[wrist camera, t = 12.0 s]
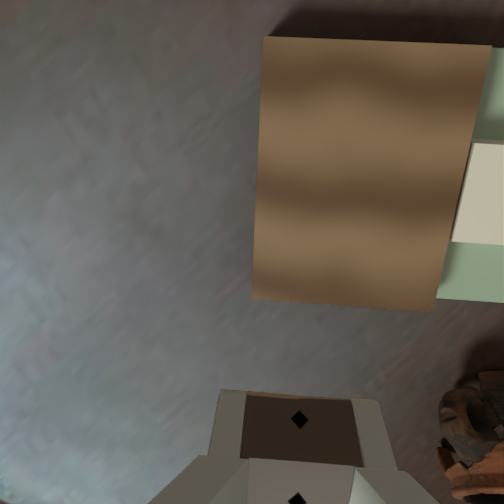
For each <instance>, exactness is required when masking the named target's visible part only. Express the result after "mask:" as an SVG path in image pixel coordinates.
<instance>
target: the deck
mask: <svg viewBox="0 0 504 504" xmlns="http://www.w3.org/2000/svg"><path fill="white" fill-rule="evenodd" d="M491 49H492V45H468V44H443V43H419V42H394V41H370V40H345V39H321V38H297V37H272V36H263V57H262V79H261V100H260V122H259V144H258V166H257V188H256V209H255V231H254V253H253V275H252V297H251V299H263V300H276V301H290V302H303V303H317V304H330V305H344V306H357V307H371V308H384V309H398V310H412V311H425V312H433V309H434V305H435V300H436V296H437V291H438V287H439V282H440V278H441V273H442V269H443V264H444V260H445V255H446V251H447V246H448V242H449V237H450V233H451V228H452V224H453V219H454V215H455V210H456V206H457V201H458V197H459V192H460V188H461V183H462V179H463V174H464V170H465V166H466V161H467V157H468V152H469V148H470V143H471V139H472V134H473V130H474V125H475V121H476V116H477V112H478V107H479V103H480V98H481V94H482V89H483V85H484V80H485V76H486V71H487V67H488V62H489V58H490V53H491Z"/></svg>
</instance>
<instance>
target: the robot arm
mask: <svg viewBox="0 0 504 504" xmlns="http://www.w3.org/2000/svg"><path fill="white" fill-rule="evenodd" d="M148 504H439V503H438V502H437V501H436V500H435V499H434V498H433V497H432V496H431V495H430V494H429V493H428V492H427V491H426V490H425V489H424V488H423V487H422V486H421V485H420V484H419V483H418V482H417V481H415V480H414V479H413V478H412V477H411V476H410V475H409V474H408V473H407V472H406V471H398V470H397V466H396V463H395V459H394V456H393V452H392V449H391V445H390V442H389V438H388V435H387V431H386V428H385V424H384V421H383V417H382V413H381V410H380V406H379V403H378V402H377V401H376V400H367V399H340V398H325V397H310V396H296V395H285V394H275V393H265V392H254V391H247V392H246V391H239V390H228V389H221V391H220V393H219V396H218V402H217V407H216V412H215V418H214V423H213V428H212V434H211V439H210V444H209V449H208V455H207V456H203V455H199V456H198V457H197V458H196V459H195V460H194V461H193V462H192V463H190V464H189V465H188V466H187V467H186V468H185V469H184V470H183V471H182V472H181V473H180V474H179V475H178V476H177V477H176V478H175V479H174V480H172V481H171V482H170V483H169V484H168V485H167V486H166V487H165V488H164V489H163V490H162V491H161V492H160V493H159V494H158V495H157V496H156V497H154V498H153V499H152V500H151V501H150V502H149V503H148Z"/></svg>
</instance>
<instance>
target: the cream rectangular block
mask: <svg viewBox="0 0 504 504" xmlns="http://www.w3.org/2000/svg"><path fill="white" fill-rule="evenodd" d="M449 239H450V240H451V241H452V242H465V243H479V244H494V245H504V140H489V139H471V143H470V148H469V152H468V157H467V161H466V166H465V170H464V174H463V179H462V183H461V188H460V192H459V197H458V201H457V206H456V210H455V215H454V219H453V224H452V228H451V233H450V237H449Z"/></svg>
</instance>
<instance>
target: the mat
mask: <svg viewBox="0 0 504 504" xmlns="http://www.w3.org/2000/svg"><path fill="white" fill-rule="evenodd" d="M472 139H489V140H504V48H492V49H491V53H490V58H489V62H488V67H487V71H486V76H485V80H484V85H483V89H482V94H481V98H480V103H479V107H478V112H477V116H476V121H475V125H474V130H473V134H472ZM436 298H444V299H458V300H472V301H486V302H500V303H504V245H494V244H479V243H465V242H452V241H451V240H450V239H449V242H448V246H447V251H446V255H445V260H444V264H443V269H442V273H441V278H440V282H439V287H438V291H437V296H436Z"/></svg>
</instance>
